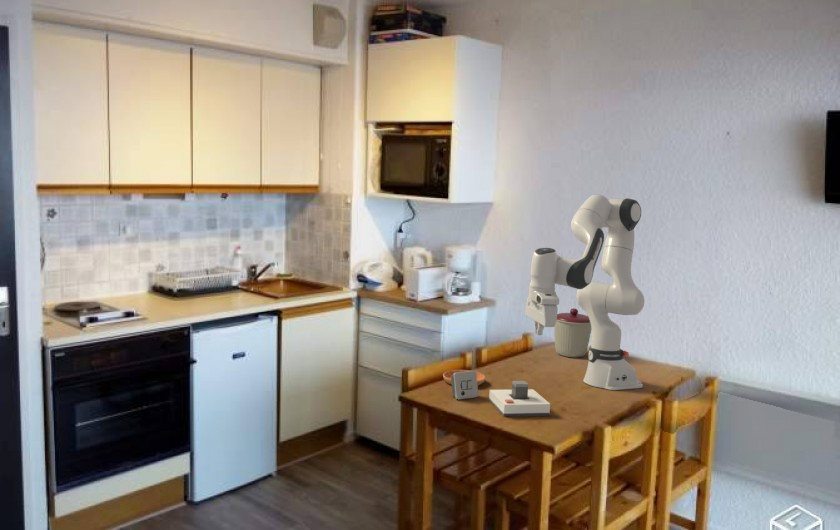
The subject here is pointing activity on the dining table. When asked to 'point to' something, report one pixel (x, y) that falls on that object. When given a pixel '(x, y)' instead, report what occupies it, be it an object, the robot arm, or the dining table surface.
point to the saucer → (448, 374)
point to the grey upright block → (519, 390)
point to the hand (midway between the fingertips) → (538, 334)
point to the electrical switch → (464, 385)
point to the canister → (572, 334)
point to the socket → (519, 404)
